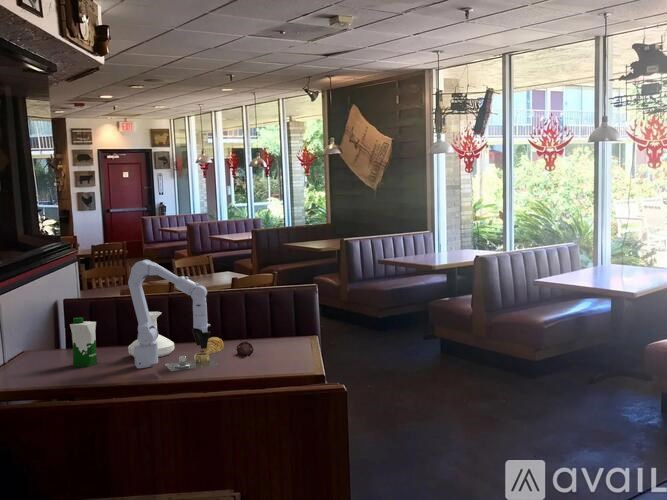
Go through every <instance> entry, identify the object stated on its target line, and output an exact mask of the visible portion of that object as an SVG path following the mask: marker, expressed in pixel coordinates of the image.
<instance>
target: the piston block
mask: <svg viewBox="0 0 667 500" xmlns="http://www.w3.org/2000/svg"><path fill="white" fill-rule="evenodd" d="M178 358H179V359H178V362H177V361H176V362H169V363H164V365H165V367H167V369H168V370H169V371H170V372H175V371H182V370H185V371H186V370H190V369H199V368H207V367H214V366H221V364H220V363H219V362H218V361H216V360H215V359H214V358H212V357H211V358H210V357H209V359H210V361H208V362H205V363H196V362H195V360H187V356H186V355H180V356H179V357H178Z"/></svg>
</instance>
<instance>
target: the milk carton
mask: <svg viewBox="0 0 667 500" xmlns="http://www.w3.org/2000/svg"><path fill="white" fill-rule="evenodd" d="M69 327H70V330H71V340H72V367H78V368H79V367H80V368H81V367H82V368H83V367H91V366H94V365H95V364H97V363H98V357H97V356H98V355H97V341H96V340H97V339H96V329H97V328H96V327H97V321H90V320H89V321H87V320H86V321H84V317H81V316H80V317H73V322H72V323H70V324H69Z"/></svg>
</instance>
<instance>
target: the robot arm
mask: <svg viewBox="0 0 667 500" xmlns="http://www.w3.org/2000/svg"><path fill="white" fill-rule="evenodd" d="M148 276H158V277H161V278H163V279H164V280H167V282H171V283H172V284H174V286H175V289H177V290H179V291H180V292H182V293H184V294H186V295H188V296H190V298H191V299H192V314H193V315H192V316H193V326H192V327H193V328H191V332H192V334H193V337H194V340H195V344H196V346H197V347H198V346H200V349H201V350H202V349H206V348H207V343H208V339H209V338H210V337H211V333H212V332H211V331H208V327H211V324H210V323H208V306H207V305H208V304H207V295H208V290H207V288H206V286H204V285H203V284H199V282H195V281H193V280H191V279H189V276H188V275H187V276H184V275H183V276H182V275H181V276H178V275H177V274H174V273H173V272H171V271H170V270H168V269H167V268H165V267H163V266H161V265H159V264H158V263H156V262H155V261H151V260H150V259H143V260H139V261H137V262H135V263H134V265H133V266H132V267H131V268H130V274H129V278H128V282H127V284H128V288H129V291H130V292H129V293H130V296H131V300H132V304H133V307H134V312H135V316H136V319H137V324H138V325H137V332H138V333H137V339H138V341H139V343H140V345H138V346H135V347H134V357H133V358H134V366H135V368H137V369H145V368H152V367H153V365H155V364H158V363H159V357H158V346H157V341H156V339H157V338H158V334H159V331H158V328H157V329H156V328H155V326H154V323H153V322H152V321H151V319H150V315H149V312H150V311H149V308H148V303H147V299H146V297H145V295H146V294H145V292H144V288H143V283H144V281H145V280H146V278H147V277H148Z"/></svg>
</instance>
